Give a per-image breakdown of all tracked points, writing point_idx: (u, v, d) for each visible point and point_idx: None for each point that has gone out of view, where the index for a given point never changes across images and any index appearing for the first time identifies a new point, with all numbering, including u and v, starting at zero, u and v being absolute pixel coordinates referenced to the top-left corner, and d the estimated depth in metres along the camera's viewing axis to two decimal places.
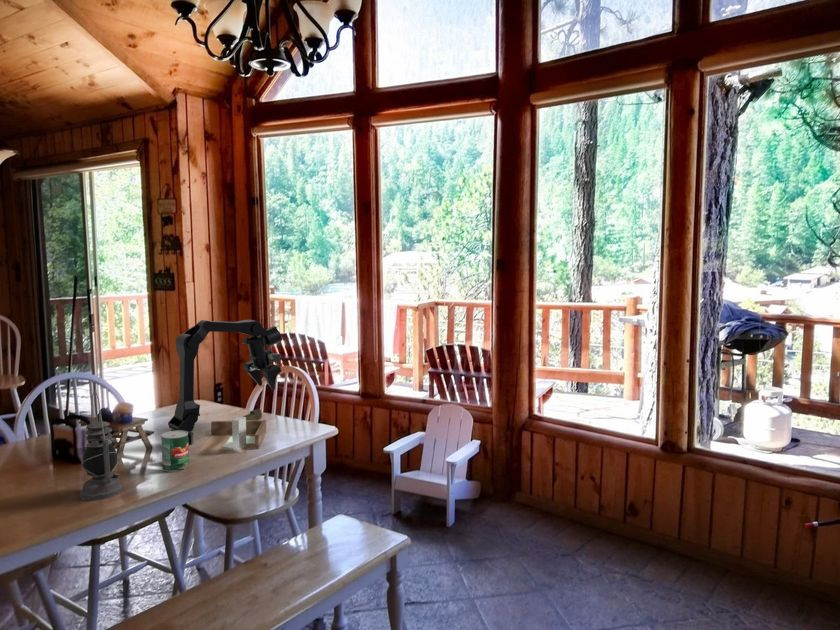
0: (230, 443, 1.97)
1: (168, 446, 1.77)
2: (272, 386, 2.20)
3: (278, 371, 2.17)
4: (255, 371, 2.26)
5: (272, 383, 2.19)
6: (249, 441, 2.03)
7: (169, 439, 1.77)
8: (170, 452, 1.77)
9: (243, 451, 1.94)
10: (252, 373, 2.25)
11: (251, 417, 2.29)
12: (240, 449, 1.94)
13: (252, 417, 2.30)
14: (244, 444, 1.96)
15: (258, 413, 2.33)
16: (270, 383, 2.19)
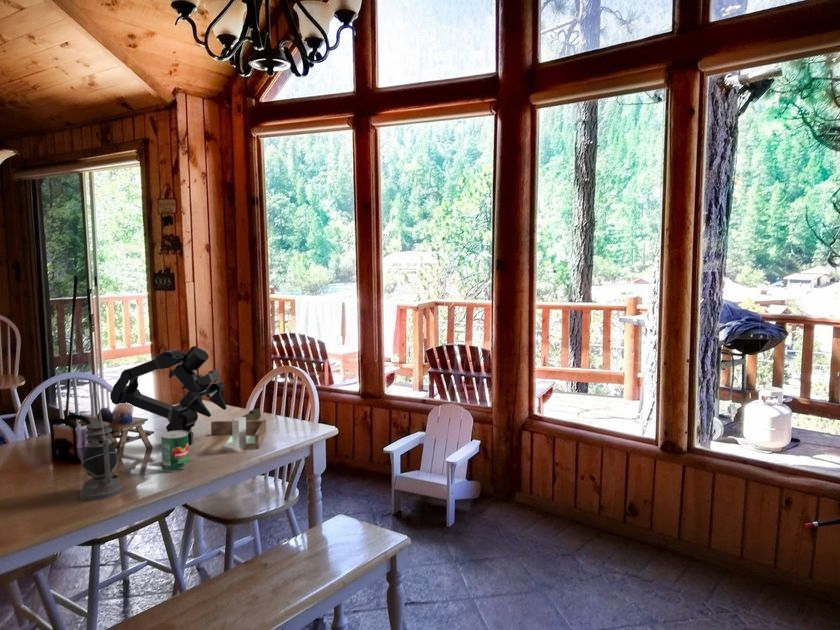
0: (230, 443, 1.97)
1: (168, 446, 1.77)
2: (204, 413, 1.91)
3: (188, 399, 1.87)
4: (214, 396, 2.02)
5: (201, 411, 1.91)
6: (249, 441, 2.03)
7: (169, 439, 1.77)
8: (170, 452, 1.77)
9: (243, 451, 1.94)
10: (211, 399, 2.02)
11: (250, 417, 2.29)
12: (240, 449, 1.94)
13: (251, 417, 2.30)
14: (244, 444, 1.96)
15: (257, 413, 2.33)
16: (199, 411, 1.91)
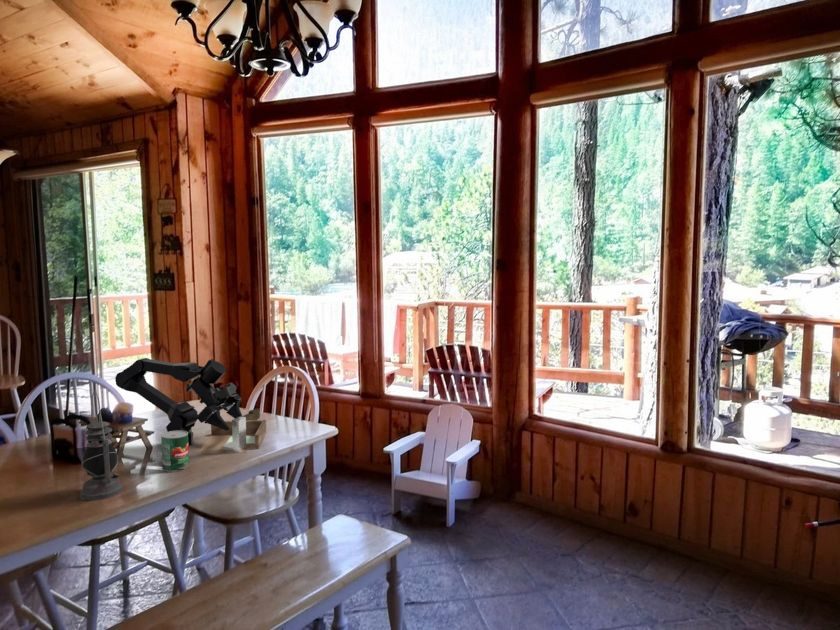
0: (230, 443, 1.97)
1: (168, 446, 1.77)
2: (223, 427, 1.90)
3: (207, 413, 1.86)
4: (231, 409, 2.00)
5: (220, 424, 1.90)
6: (249, 441, 2.03)
7: (169, 439, 1.77)
8: (170, 452, 1.77)
9: (243, 451, 1.94)
10: (229, 412, 2.01)
11: (250, 417, 2.29)
12: (240, 449, 1.94)
13: (251, 417, 2.30)
14: (244, 444, 1.96)
15: (257, 413, 2.34)
16: (217, 425, 1.90)
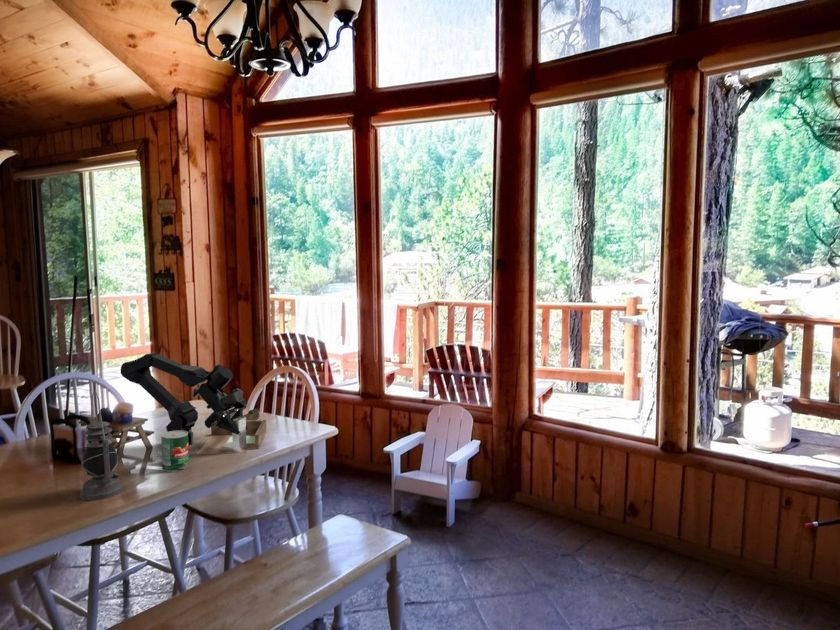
0: (230, 443, 1.97)
1: (168, 446, 1.77)
2: (233, 431, 1.92)
3: (214, 419, 1.86)
4: (234, 416, 1.98)
5: (230, 428, 1.91)
6: (249, 441, 2.03)
7: (169, 439, 1.77)
8: (170, 452, 1.77)
9: (243, 451, 1.94)
10: (232, 419, 1.98)
11: (250, 417, 2.29)
12: (240, 449, 1.94)
13: (251, 417, 2.30)
14: (244, 444, 1.96)
15: (256, 413, 2.34)
16: (228, 429, 1.91)
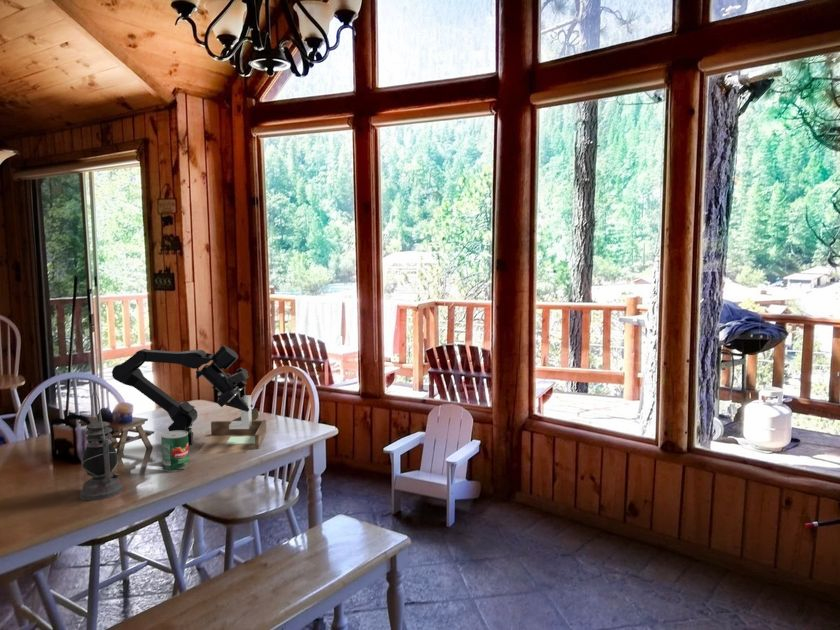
0: (235, 422, 2.02)
1: (168, 446, 1.77)
2: (243, 408, 1.98)
3: (229, 397, 1.91)
4: None
5: (240, 406, 1.97)
6: (249, 441, 2.03)
7: (169, 439, 1.77)
8: (170, 452, 1.77)
9: (243, 451, 1.94)
10: None
11: None
12: (249, 426, 2.00)
13: None
14: (250, 421, 2.02)
15: (255, 412, 2.34)
16: (238, 407, 1.97)
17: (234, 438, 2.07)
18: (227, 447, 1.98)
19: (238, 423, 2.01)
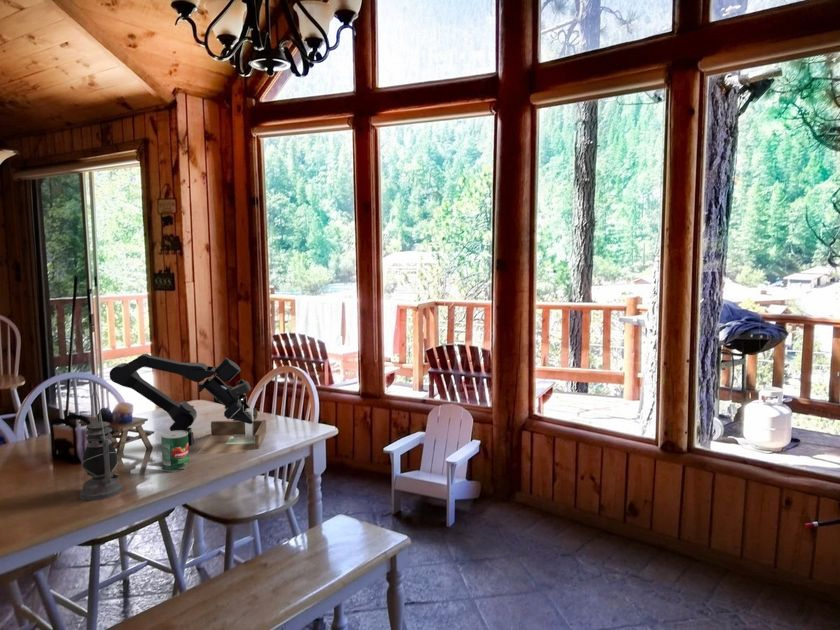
0: (237, 435, 2.05)
1: (168, 446, 1.77)
2: (247, 421, 2.00)
3: (236, 409, 1.94)
4: None
5: (244, 419, 1.99)
6: None
7: (169, 439, 1.77)
8: (170, 452, 1.77)
9: (243, 451, 1.94)
10: None
11: None
12: (252, 438, 2.04)
13: None
14: (253, 434, 2.07)
15: (255, 412, 2.34)
16: (241, 420, 1.99)
17: None
18: (227, 447, 1.98)
19: (241, 436, 2.04)
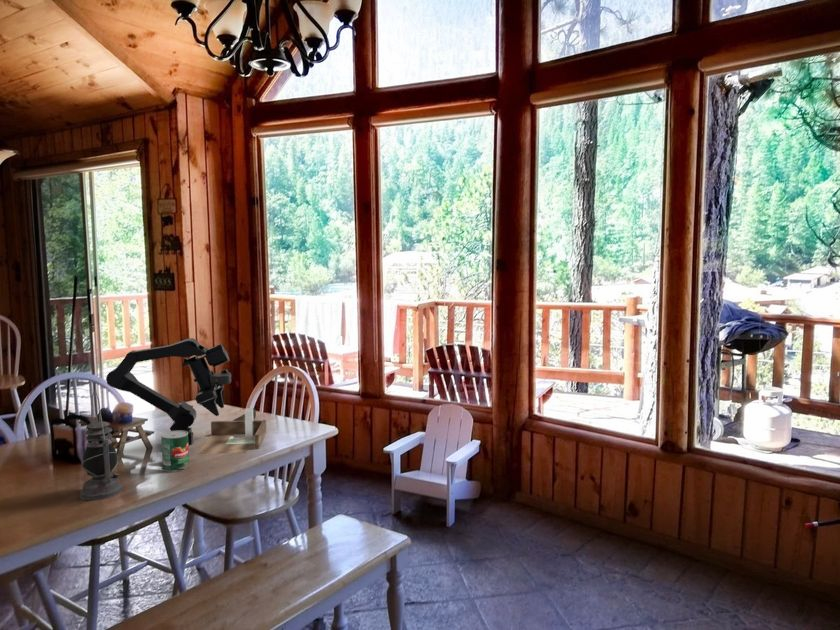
0: (237, 435, 2.05)
1: (168, 446, 1.77)
2: (213, 412, 1.97)
3: (208, 397, 1.92)
4: None
5: (212, 409, 1.97)
6: None
7: (169, 439, 1.77)
8: (170, 452, 1.77)
9: (243, 451, 1.94)
10: None
11: None
12: (252, 438, 2.04)
13: None
14: (253, 434, 2.07)
15: (253, 412, 2.34)
16: (209, 409, 1.96)
17: None
18: (227, 447, 1.98)
19: (241, 436, 2.04)
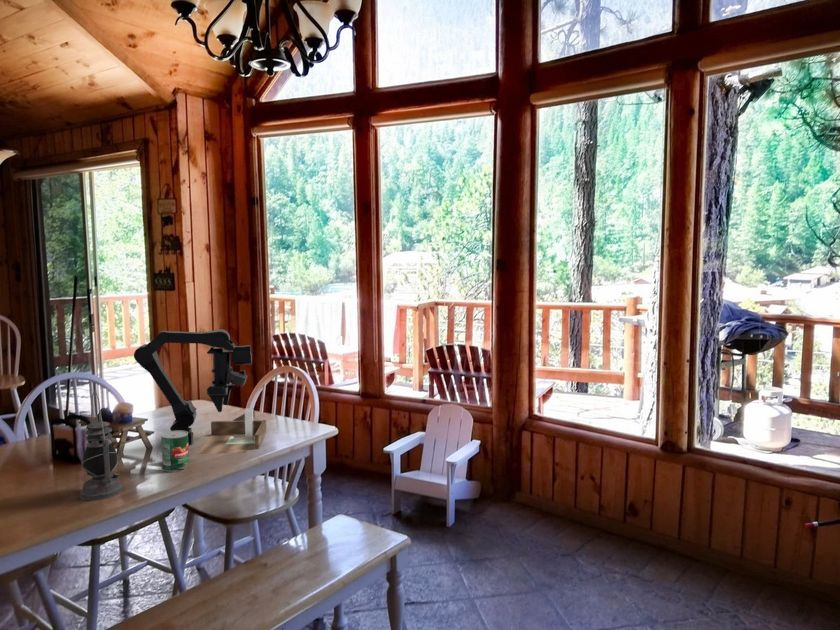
0: (237, 435, 2.05)
1: (168, 446, 1.77)
2: (217, 407, 1.98)
3: (220, 392, 1.93)
4: None
5: (217, 404, 1.97)
6: None
7: (169, 439, 1.77)
8: (170, 452, 1.77)
9: (243, 451, 1.94)
10: None
11: None
12: (252, 438, 2.04)
13: None
14: (253, 434, 2.07)
15: (253, 412, 2.34)
16: (215, 403, 1.97)
17: None
18: (227, 447, 1.98)
19: (241, 436, 2.04)
